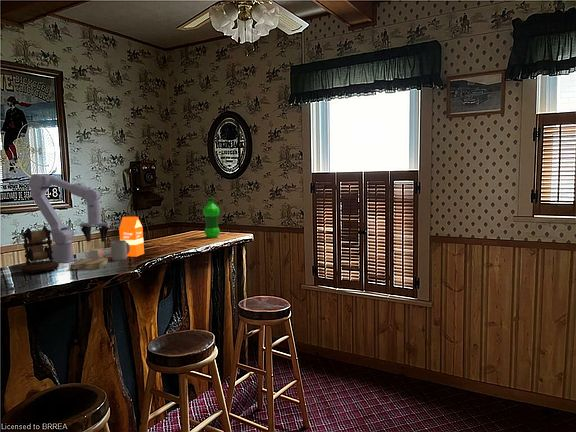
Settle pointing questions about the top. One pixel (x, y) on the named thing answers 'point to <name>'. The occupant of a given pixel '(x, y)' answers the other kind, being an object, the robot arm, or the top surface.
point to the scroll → (38, 251)
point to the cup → (119, 250)
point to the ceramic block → (96, 253)
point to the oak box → (90, 263)
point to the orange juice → (132, 235)
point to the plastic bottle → (211, 219)
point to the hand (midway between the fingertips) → (96, 241)
